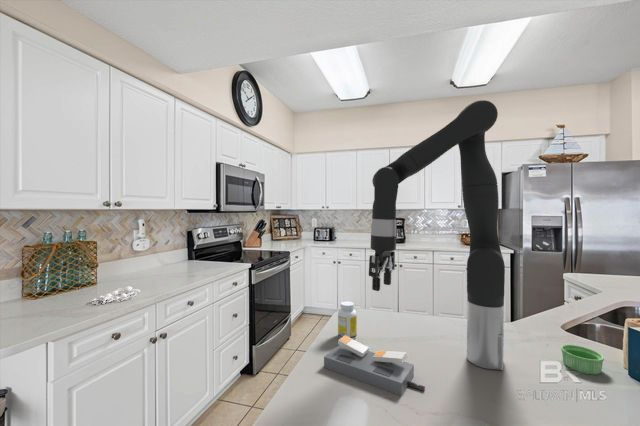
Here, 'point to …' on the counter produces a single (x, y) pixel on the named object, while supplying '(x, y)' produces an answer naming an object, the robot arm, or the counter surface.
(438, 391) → the counter surface
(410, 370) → the power strip
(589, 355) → the ramekin
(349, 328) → the pill bottle
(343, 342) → the rocker outer
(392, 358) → the block
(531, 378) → the counter surface
